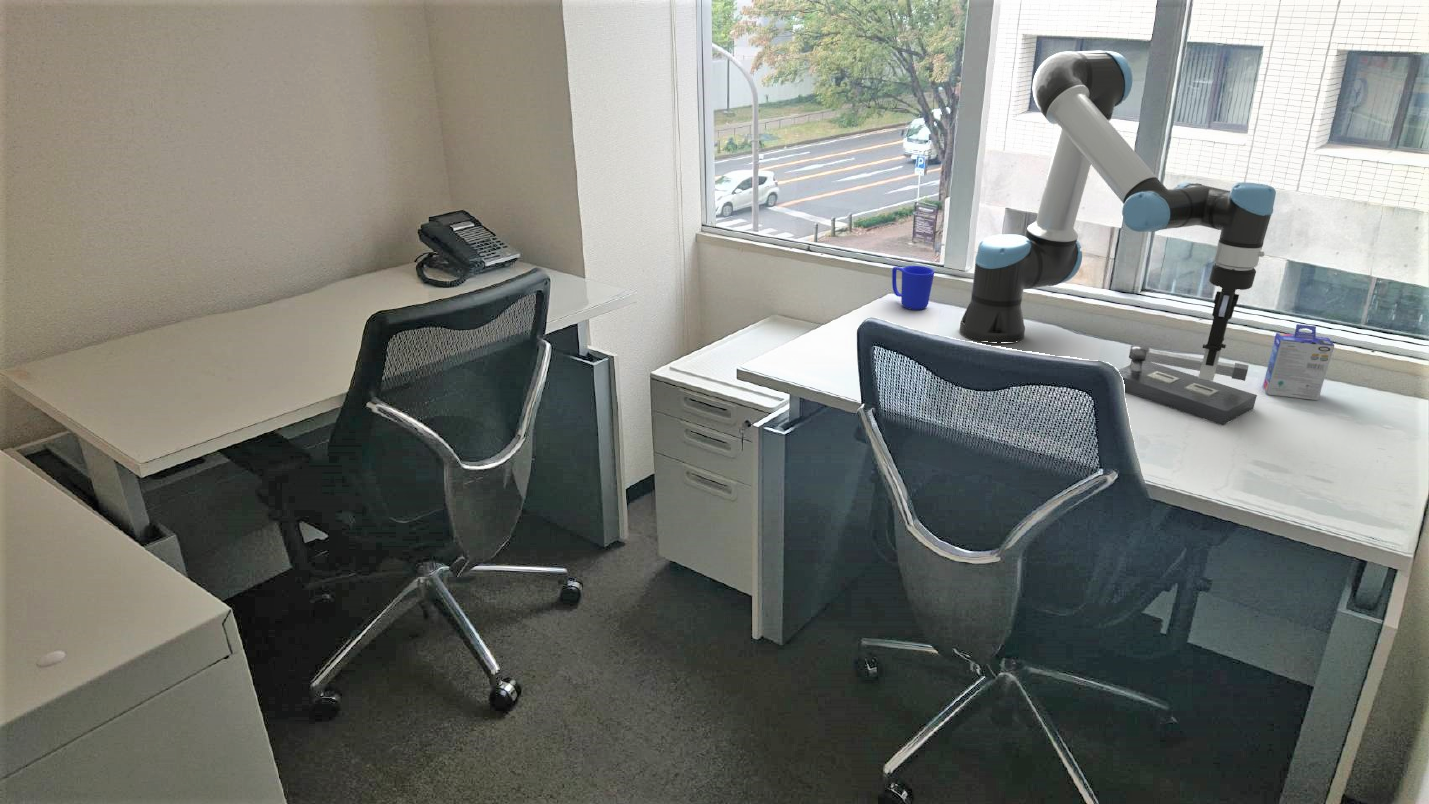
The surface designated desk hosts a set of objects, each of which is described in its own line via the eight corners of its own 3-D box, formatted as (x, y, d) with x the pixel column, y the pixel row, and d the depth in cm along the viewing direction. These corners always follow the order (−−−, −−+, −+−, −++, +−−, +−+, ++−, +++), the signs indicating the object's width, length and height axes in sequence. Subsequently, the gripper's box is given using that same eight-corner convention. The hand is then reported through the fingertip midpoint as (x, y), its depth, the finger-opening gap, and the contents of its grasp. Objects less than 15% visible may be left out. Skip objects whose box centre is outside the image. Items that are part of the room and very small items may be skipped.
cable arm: (1127, 359, 194) (1129, 348, 193) (1129, 354, 197) (1132, 343, 196) (1244, 381, 184) (1248, 369, 183) (1245, 375, 187) (1248, 363, 186)
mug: (900, 296, 250) (904, 260, 246) (936, 307, 242) (940, 270, 238) (880, 302, 245) (883, 266, 241) (916, 313, 237) (920, 276, 233)
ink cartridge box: (1312, 391, 194) (1332, 326, 188) (1319, 401, 189) (1340, 335, 183) (1260, 385, 196) (1278, 320, 190) (1265, 395, 192) (1284, 329, 186)
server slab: (1107, 386, 195) (1112, 364, 193) (1139, 372, 202) (1144, 351, 200) (1222, 425, 178) (1229, 401, 175) (1253, 408, 185) (1259, 385, 183)
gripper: (1254, 276, 171) (1223, 392, 181) (1259, 261, 181) (1229, 372, 191) (1209, 269, 175) (1181, 384, 184) (1216, 255, 185) (1189, 365, 194)
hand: (1205, 378), depth 188 cm, fingers closed
